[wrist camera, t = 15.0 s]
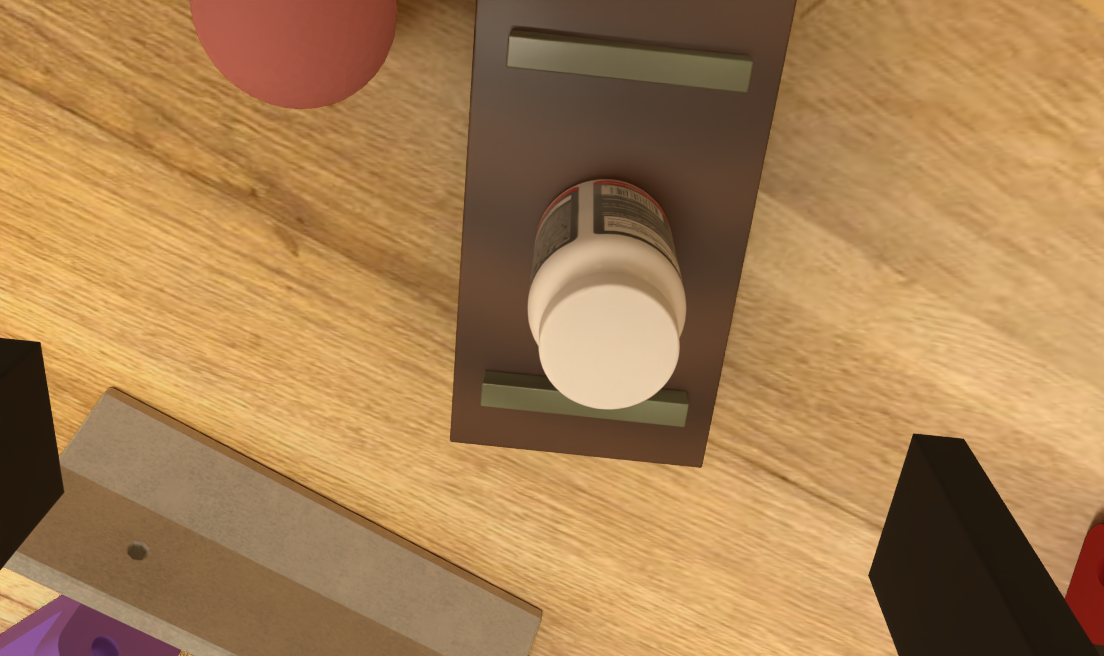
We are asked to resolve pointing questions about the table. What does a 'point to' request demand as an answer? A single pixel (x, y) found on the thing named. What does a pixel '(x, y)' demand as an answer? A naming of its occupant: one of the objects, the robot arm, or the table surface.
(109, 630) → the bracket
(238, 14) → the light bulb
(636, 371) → the pill bottle
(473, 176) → the walnut shelf
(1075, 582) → the mechanical linkage
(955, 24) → the table surface
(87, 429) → the barrier
